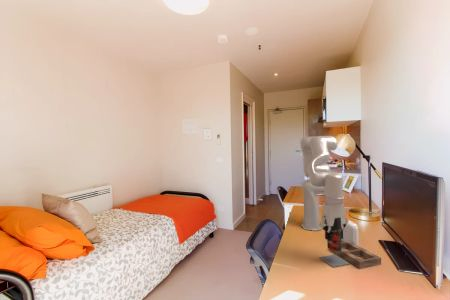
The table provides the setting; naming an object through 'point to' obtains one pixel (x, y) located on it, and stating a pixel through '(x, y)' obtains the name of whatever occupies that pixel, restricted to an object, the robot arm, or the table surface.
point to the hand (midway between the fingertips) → (334, 238)
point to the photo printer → (351, 233)
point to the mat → (334, 261)
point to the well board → (358, 255)
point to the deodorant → (335, 236)
